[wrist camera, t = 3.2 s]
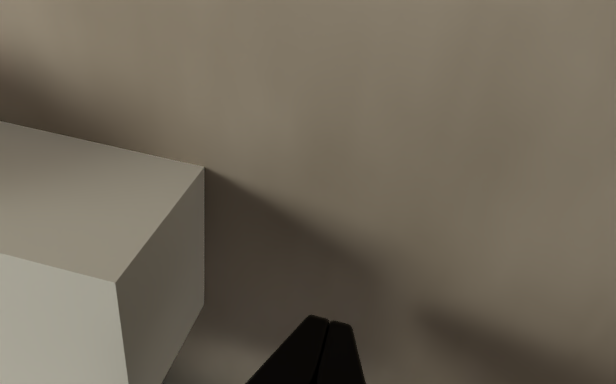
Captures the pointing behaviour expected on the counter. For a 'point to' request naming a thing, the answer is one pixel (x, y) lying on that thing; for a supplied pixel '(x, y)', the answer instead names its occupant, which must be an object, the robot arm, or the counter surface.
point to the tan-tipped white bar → (95, 260)
